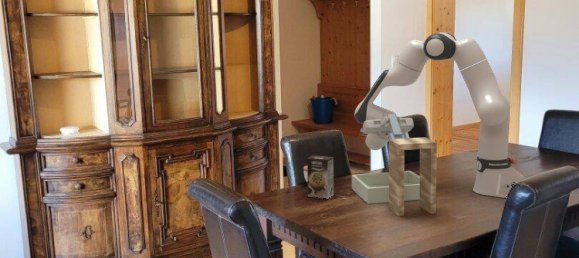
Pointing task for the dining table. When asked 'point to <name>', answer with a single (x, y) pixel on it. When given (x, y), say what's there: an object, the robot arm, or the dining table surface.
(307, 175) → the lidded jar
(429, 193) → the birch stand
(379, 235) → the dining table surface
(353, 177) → the pale green tray
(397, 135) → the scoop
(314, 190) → the cookie box
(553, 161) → the dining table surface
